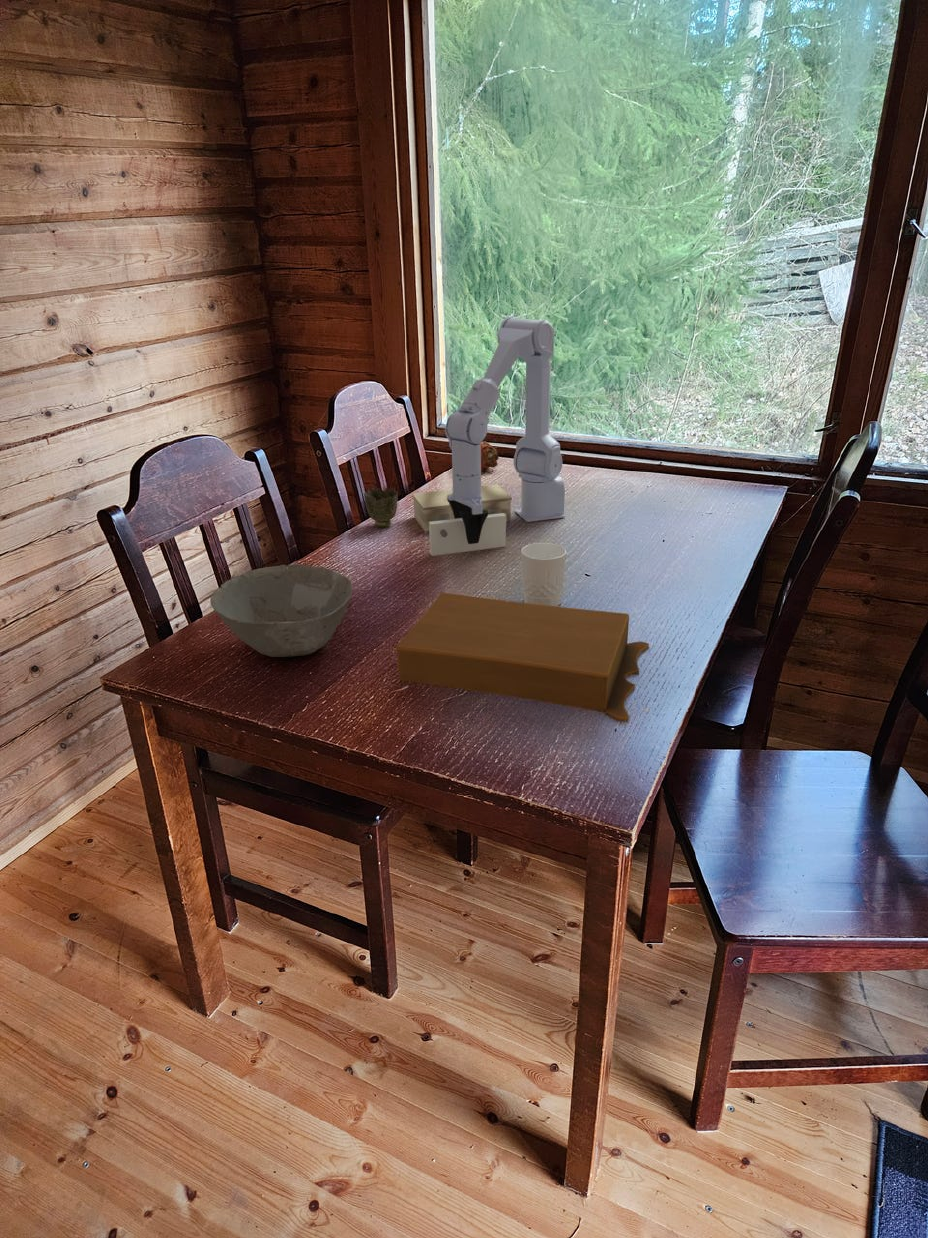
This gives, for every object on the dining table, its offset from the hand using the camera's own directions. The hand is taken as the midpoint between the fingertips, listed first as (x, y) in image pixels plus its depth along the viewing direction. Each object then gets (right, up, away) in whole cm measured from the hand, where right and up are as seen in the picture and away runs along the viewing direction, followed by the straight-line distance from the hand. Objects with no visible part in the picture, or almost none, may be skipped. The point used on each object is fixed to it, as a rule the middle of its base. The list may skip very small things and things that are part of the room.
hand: (467, 536), depth 173 cm
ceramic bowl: (-30, -22, -35) cm, 51 cm away
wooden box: (+9, -25, -42) cm, 49 cm away
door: (0, -3, +1) cm, 3 cm away
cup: (-19, +4, +15) cm, 25 cm away
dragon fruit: (+3, +23, +52) cm, 57 cm away
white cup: (+13, -14, -22) cm, 29 cm away
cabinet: (-1, +5, +16) cm, 17 cm away
